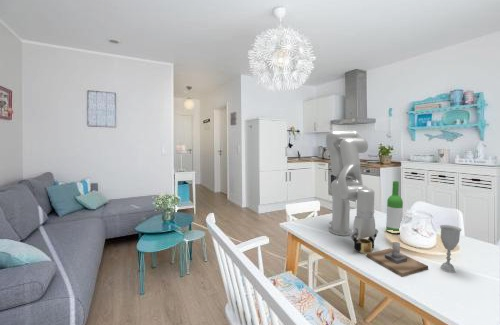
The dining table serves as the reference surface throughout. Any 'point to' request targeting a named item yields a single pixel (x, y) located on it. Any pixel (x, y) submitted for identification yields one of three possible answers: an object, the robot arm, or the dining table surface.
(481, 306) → the dining table surface
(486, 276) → the dining table surface
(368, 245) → the ring
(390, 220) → the wine bottle
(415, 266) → the shaft stand
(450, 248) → the chalice
